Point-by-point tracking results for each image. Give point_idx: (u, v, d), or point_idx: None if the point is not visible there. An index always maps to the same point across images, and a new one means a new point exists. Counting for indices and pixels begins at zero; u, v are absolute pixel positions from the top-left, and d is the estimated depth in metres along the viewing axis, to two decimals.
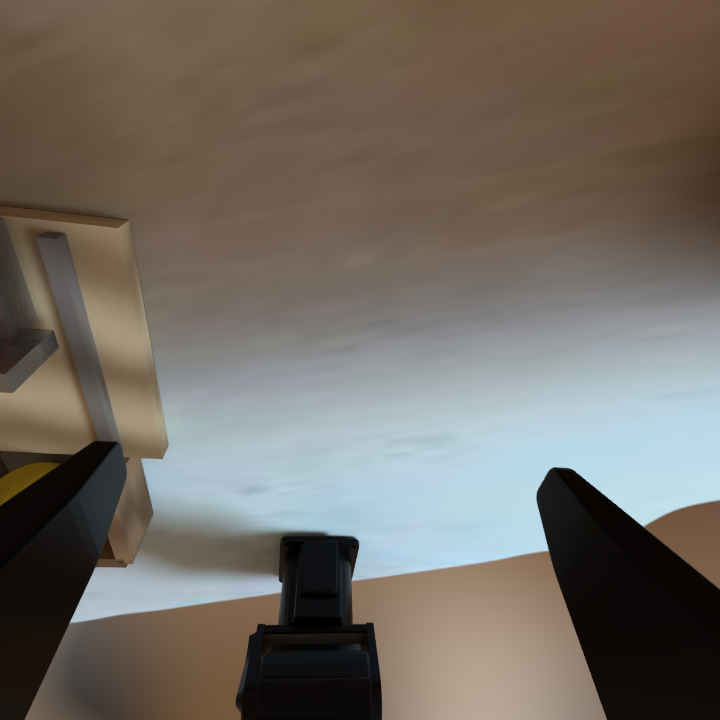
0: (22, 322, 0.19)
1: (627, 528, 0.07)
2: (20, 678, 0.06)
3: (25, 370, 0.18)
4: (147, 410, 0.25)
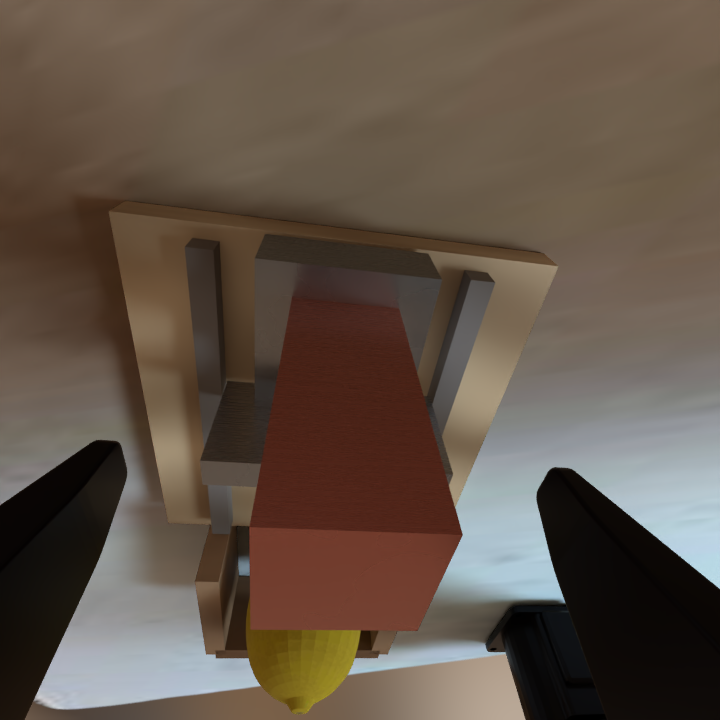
0: None
1: (627, 528, 0.07)
2: (20, 678, 0.06)
3: None
4: (459, 481, 0.20)
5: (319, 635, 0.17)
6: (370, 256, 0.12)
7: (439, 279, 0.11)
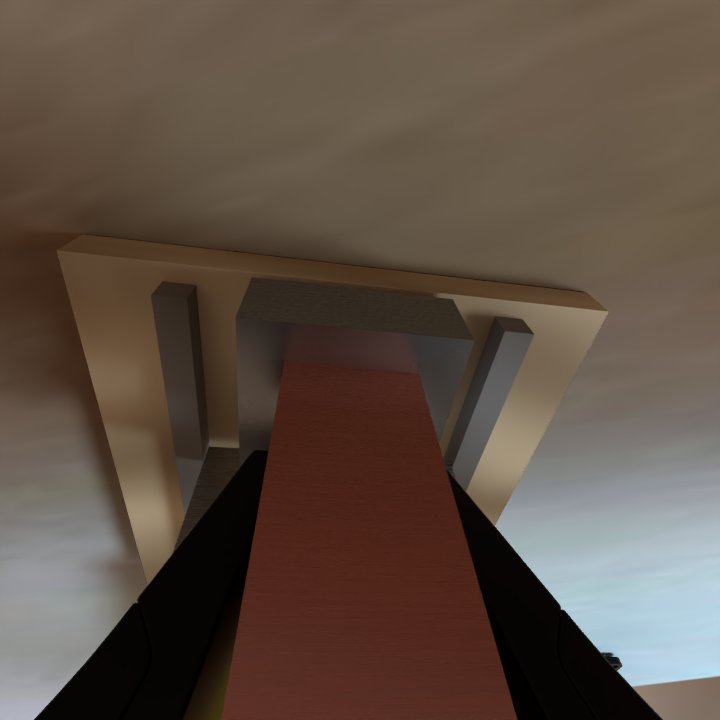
0: None
1: (470, 522, 0.07)
2: None
3: None
4: None
5: None
6: (382, 307, 0.10)
7: (470, 340, 0.09)
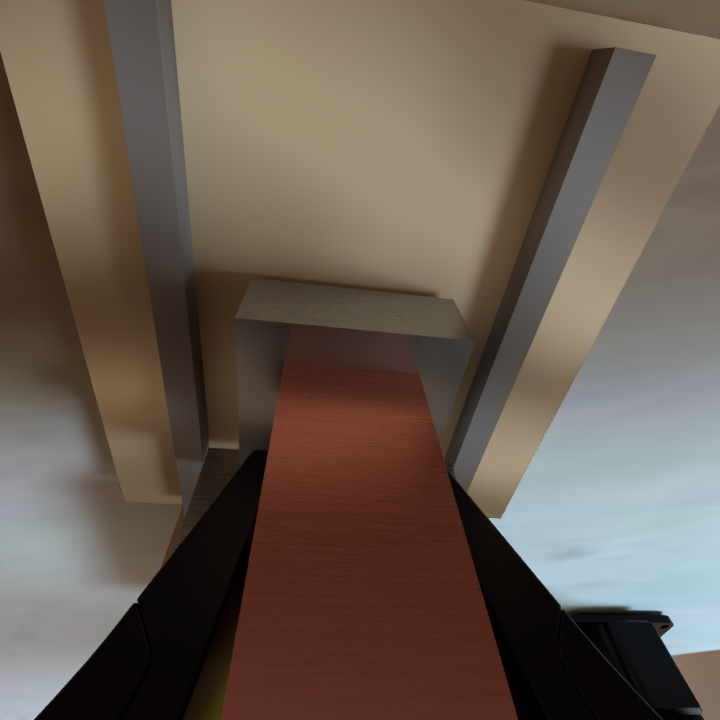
0: None
1: (470, 522, 0.07)
2: None
3: None
4: (531, 442, 0.14)
5: None
6: (383, 307, 0.10)
7: (471, 340, 0.09)
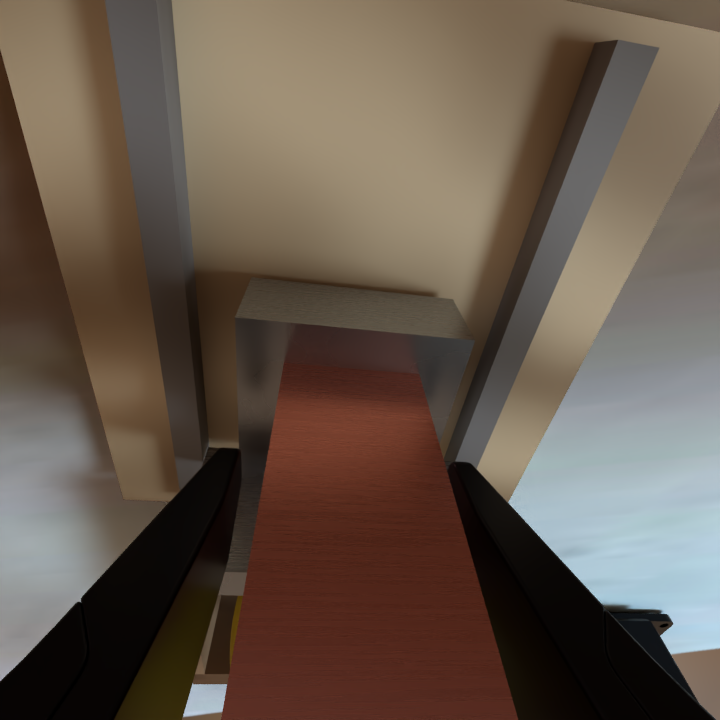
0: None
1: (507, 523, 0.07)
2: (184, 677, 0.06)
3: None
4: (532, 440, 0.14)
5: None
6: (382, 307, 0.10)
7: (471, 340, 0.09)
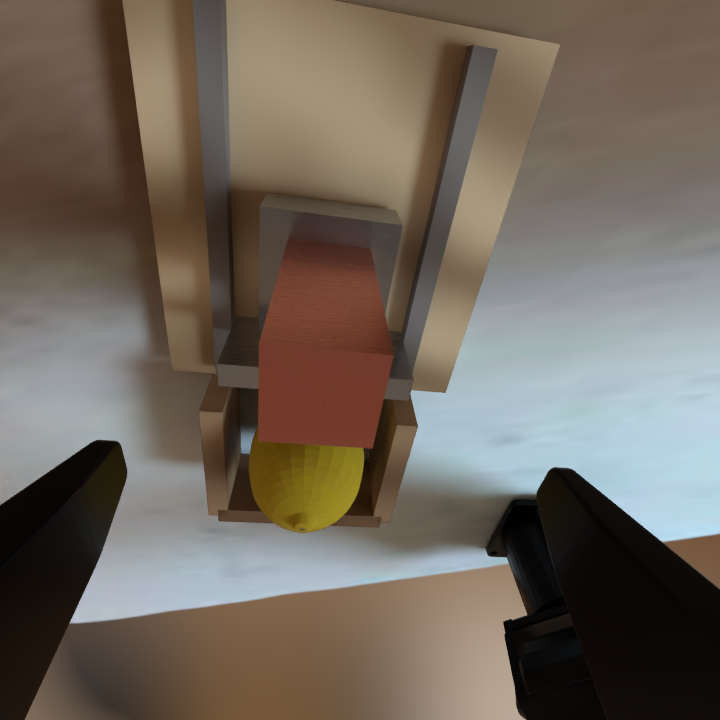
0: None
1: (627, 528, 0.07)
2: (20, 678, 0.06)
3: None
4: (461, 324, 0.20)
5: (322, 456, 0.18)
6: (349, 209, 0.15)
7: (400, 225, 0.15)
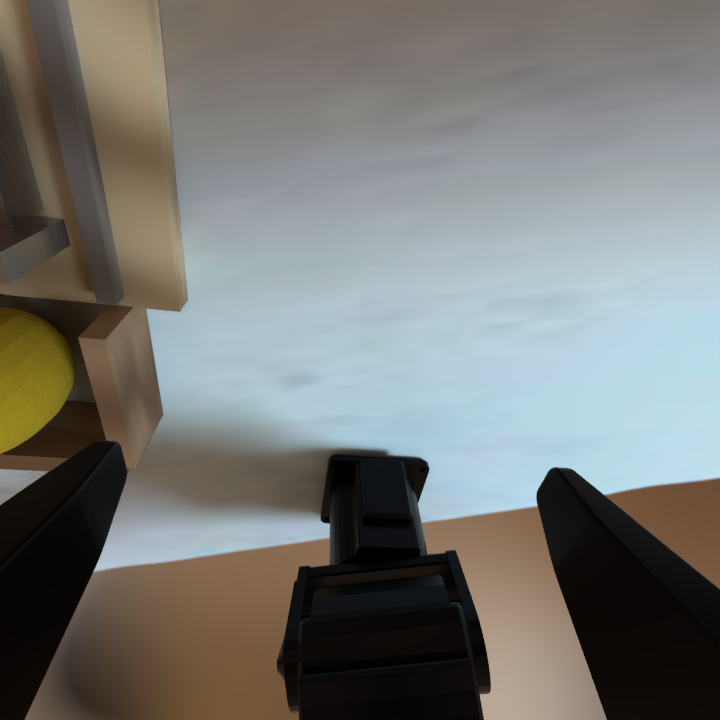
0: (23, 203, 0.15)
1: (627, 528, 0.07)
2: (20, 678, 0.06)
3: (27, 259, 0.14)
4: (161, 218, 0.17)
5: None
6: None
7: None
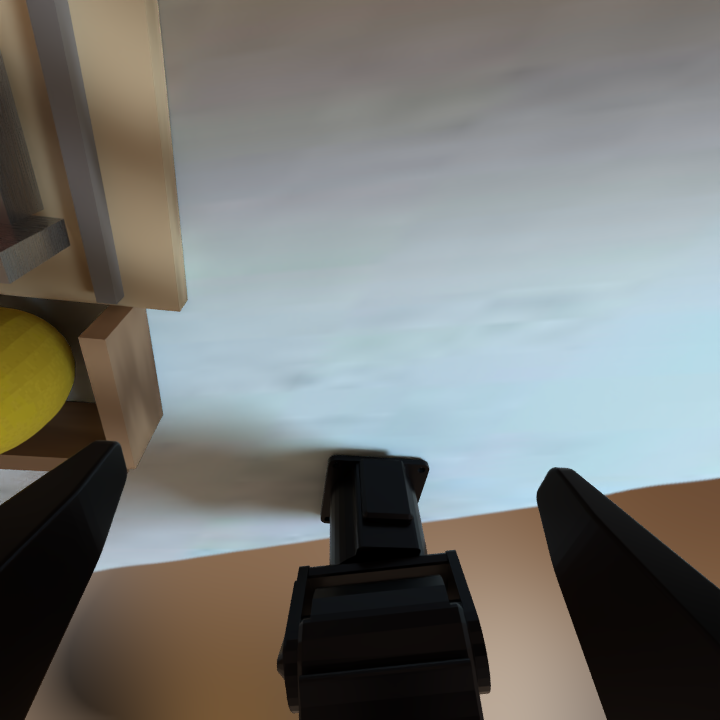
0: (23, 203, 0.15)
1: (627, 528, 0.07)
2: (20, 678, 0.06)
3: (27, 259, 0.14)
4: (161, 218, 0.17)
5: None
6: None
7: None
